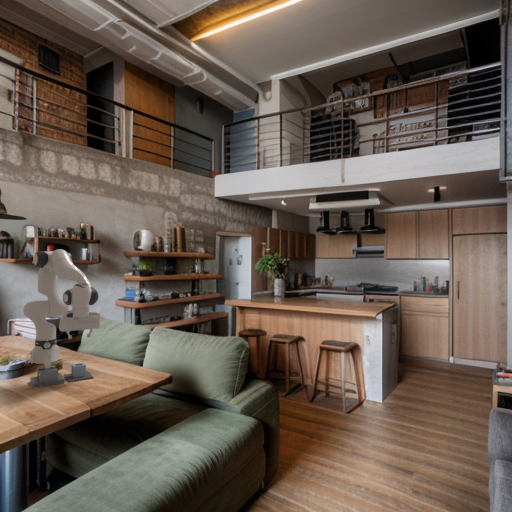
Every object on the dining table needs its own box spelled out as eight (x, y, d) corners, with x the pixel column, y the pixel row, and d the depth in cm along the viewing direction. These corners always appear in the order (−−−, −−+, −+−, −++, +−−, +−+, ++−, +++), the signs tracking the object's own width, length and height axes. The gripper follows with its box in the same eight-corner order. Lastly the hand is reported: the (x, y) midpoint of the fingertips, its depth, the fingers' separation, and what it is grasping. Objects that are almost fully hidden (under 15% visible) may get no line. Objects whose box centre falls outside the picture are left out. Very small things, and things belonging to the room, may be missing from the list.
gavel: (62, 371, 195) (41, 373, 190) (62, 379, 195) (41, 382, 190) (62, 360, 213) (43, 361, 208) (62, 367, 213) (43, 369, 208)
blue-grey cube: (71, 375, 195) (71, 364, 195) (83, 373, 198) (83, 362, 199) (73, 377, 190) (73, 366, 190) (85, 375, 194) (85, 365, 194)
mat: (63, 375, 196) (64, 374, 196) (87, 372, 203) (87, 370, 203) (68, 382, 185) (68, 380, 185) (93, 378, 192) (93, 376, 192)
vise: (30, 381, 186) (31, 355, 186) (60, 376, 194) (60, 352, 195) (32, 388, 175) (33, 360, 176) (64, 382, 184) (65, 356, 185)
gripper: (98, 311, 204) (98, 335, 204) (59, 313, 192) (58, 338, 191) (101, 312, 199) (100, 337, 199) (61, 314, 187) (60, 341, 186)
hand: (79, 338), depth 195 cm, fingers open, 8 cm apart
